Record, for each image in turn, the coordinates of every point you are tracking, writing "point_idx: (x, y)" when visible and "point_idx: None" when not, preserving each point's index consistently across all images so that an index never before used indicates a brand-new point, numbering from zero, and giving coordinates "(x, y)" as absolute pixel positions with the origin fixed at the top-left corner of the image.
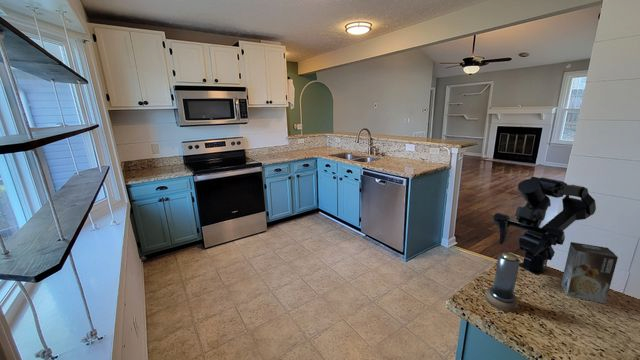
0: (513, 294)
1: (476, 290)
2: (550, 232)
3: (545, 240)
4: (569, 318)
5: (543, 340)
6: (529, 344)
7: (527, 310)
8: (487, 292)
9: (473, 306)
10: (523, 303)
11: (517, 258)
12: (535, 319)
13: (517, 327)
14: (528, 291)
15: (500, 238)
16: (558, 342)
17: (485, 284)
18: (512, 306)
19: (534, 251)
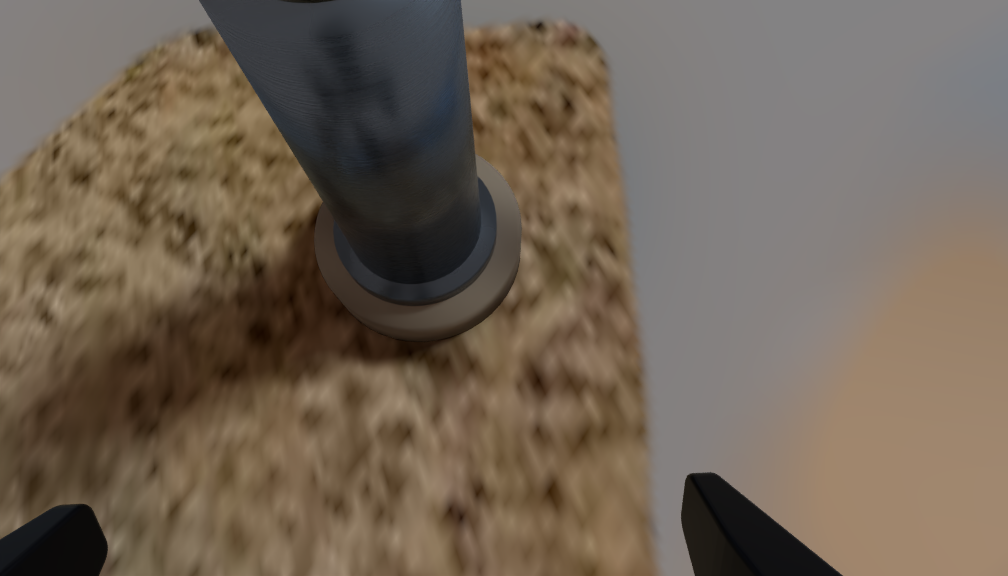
0: (356, 274)
1: (581, 229)
2: None
3: None
4: (52, 442)
5: (163, 123)
6: (211, 51)
7: (276, 296)
8: (498, 184)
9: (507, 81)
10: (314, 351)
11: (227, 14)
12: (222, 250)
13: None
14: (329, 555)
15: (786, 544)
16: (102, 166)
17: (584, 351)
18: None
19: (21, 553)
